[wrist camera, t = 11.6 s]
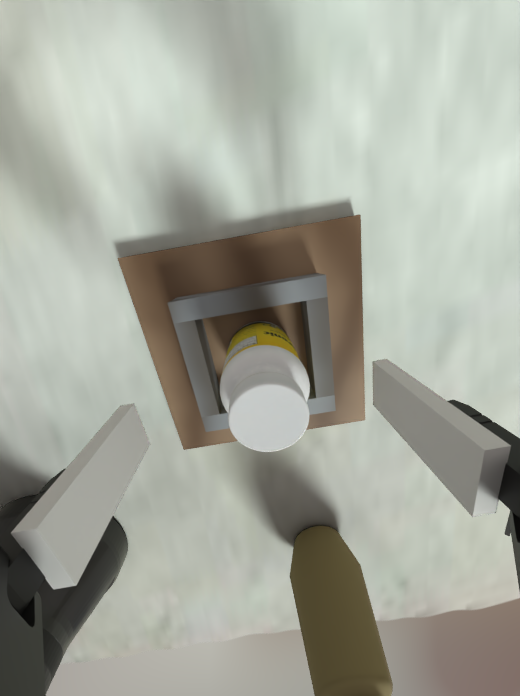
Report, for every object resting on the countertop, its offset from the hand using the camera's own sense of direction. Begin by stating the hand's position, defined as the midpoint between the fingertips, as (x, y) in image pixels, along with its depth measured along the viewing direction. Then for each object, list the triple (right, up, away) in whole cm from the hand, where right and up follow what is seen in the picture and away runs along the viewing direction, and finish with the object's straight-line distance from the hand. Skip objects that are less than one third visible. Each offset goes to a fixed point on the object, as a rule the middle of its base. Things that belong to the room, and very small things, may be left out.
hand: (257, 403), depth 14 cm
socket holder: (0, +3, +8) cm, 9 cm away
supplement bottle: (0, +3, +8) cm, 8 cm away
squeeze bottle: (+7, -21, +18) cm, 29 cm away
